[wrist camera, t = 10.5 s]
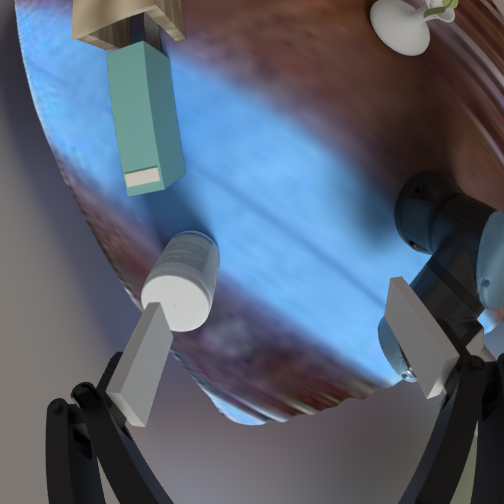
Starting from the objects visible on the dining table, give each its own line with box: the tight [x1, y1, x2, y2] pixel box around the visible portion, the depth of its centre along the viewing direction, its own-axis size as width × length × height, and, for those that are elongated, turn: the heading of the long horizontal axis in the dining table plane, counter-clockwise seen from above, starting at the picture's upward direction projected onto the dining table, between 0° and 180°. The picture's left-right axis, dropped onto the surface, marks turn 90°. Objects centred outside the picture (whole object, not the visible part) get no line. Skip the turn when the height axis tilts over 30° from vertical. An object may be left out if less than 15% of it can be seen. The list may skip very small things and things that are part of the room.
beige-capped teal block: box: [107, 41, 186, 197], centre depth 32 cm, size 5×19×11 cm, turn 7°
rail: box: [144, 12, 161, 52], centre depth 35 cm, size 2×32×1 cm, turn 7°
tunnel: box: [72, 0, 186, 52], centre depth 24 cm, size 11×8×15 cm
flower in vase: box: [370, 0, 458, 56], centre depth 19 cm, size 13×11×25 cm
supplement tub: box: [141, 230, 220, 331], centre depth 41 cm, size 10×10×15 cm
